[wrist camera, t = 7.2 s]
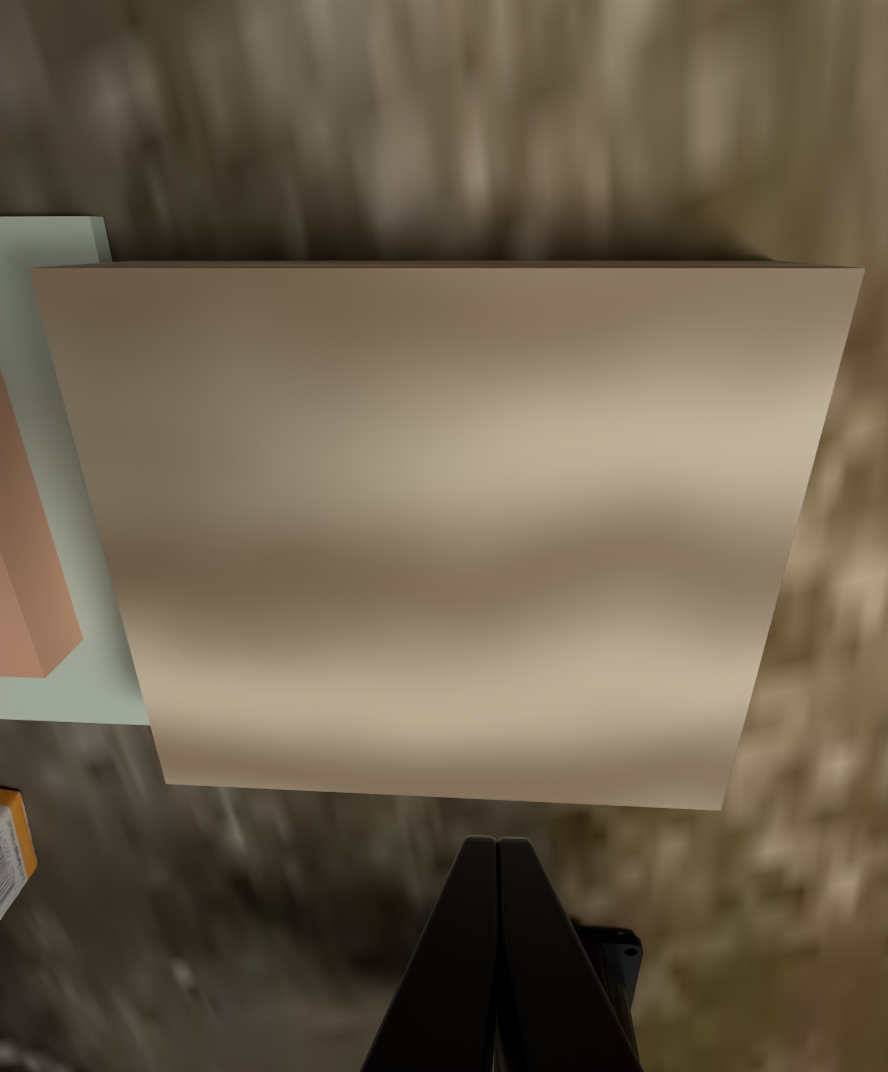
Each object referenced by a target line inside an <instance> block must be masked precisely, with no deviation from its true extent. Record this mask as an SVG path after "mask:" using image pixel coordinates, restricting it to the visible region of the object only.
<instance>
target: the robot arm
mask: <svg viewBox="0 0 888 1072" xmlns="http://www.w3.org/2000/svg"><path fill="white" fill-rule="evenodd" d="M642 956H643V949H642V944H641V940H640V939H639V938H638V937H636V936H633V935H623V934H606V933H590V932H575V930H574V927H573V925H572V923H571V921H570V919H569V917H568V915H567V913H566V911H565V909H564V907H563V905H562V903H561V901H560V899H559V897H558V895H557V893H556V891H555V889H554V887H553V885H552V882H551V880H550V878H549V876H548V874H547V872H546V870H545V868H544V866H543V864H542V862H541V860H540V858H539V856H538V854H537V852H536V850H535V848H534V846H533V844H532V842H531V841H530V840H529V839H528V838H525V837H505V836H503V837H501V838H499V840H498V844H497V840H496V838H494V837H493V836H482V835H468V836H467V837H466V838H465V839H464V840H463V842H462V844H461V847H460V849H459V851H458V853H457V855H456V858H455V860H454V862H453V864H452V867H451V869H450V871H449V873H448V876H447V878H446V880H445V882H444V885H443V887H442V889H441V891H440V894H439V896H438V898H437V900H436V903H435V905H434V907H433V909H432V911H431V914H430V916H429V918H428V920H427V923H426V925H425V927H424V929H423V932H422V934H421V936H420V938H419V941H418V943H417V945H416V947H415V950H414V952H413V954H412V956H411V958H410V961H409V963H408V965H407V967H406V970H405V972H404V974H403V976H402V979H401V981H400V983H399V985H398V988H397V990H396V992H395V994H394V997H393V999H392V1001H391V1003H390V1006H389V1008H388V1010H387V1012H386V1014H385V1017H384V1019H383V1021H382V1023H381V1026H380V1028H379V1030H378V1032H377V1035H376V1037H375V1039H374V1041H373V1044H372V1046H371V1048H370V1050H369V1053H368V1055H367V1057H366V1059H365V1061H364V1064H363V1066H362V1068H361V1070H360V1072H492V1066H493V1055H494V1072H644V1071H643V1069H642V1067H641V1065H640V1059H639V1054H638V1049H637V1043H636V1038H635V1033H634V1027H633V1022H632V1016H631V1011H630V1010H631V1005H632V1001H633V996H634V992H635V987H636V983H637V978H638V974H639V969H640V965H641V960H642Z"/></svg>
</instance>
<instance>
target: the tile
mask: <svg viewBox="0 0 888 1072" xmlns="http://www.w3.org/2000/svg"><path fill="white" fill-rule="evenodd" d="M83 640H84V639H83V636H82V633H81V629H80V626H79V623H78V620H77V616H76V613H75V610H74V607H73V603H72V600H71V597H70V594H69V590H68V587H67V584H66V581H65V577H64V574H63V571H62V567H61V564H60V561H59V558H58V554H57V551H56V548H55V545H54V541H53V538H52V535H51V532H50V528H49V525H48V522H47V519H46V515H45V512H44V509H43V506H42V502H41V499H40V496H39V493H38V489H37V486H36V483H35V479H34V476H33V473H32V470H31V466H30V463H29V460H28V457H27V453H26V450H25V447H24V444H23V440H22V437H21V434H20V431H19V427H18V424H17V421H16V418H15V414H14V411H13V408H12V405H11V401H10V398H9V395H8V391H7V388H6V385H5V382H4V378H3V375H2V372H1V369H0V677H24V678H46V677H47V676H48V675H49V674H50V673H51V672H52V671H53V670H54V669H55V668H56V667H57V666H58V665H59V664H60V663H61V662H62V661H63V660H64V659H65V658H66V657H67V656H68V655H69V654H70V653H71V652H72V651H73V650H74V649H75V648H76V647H77V646H78V645H79V644H80V643H81V642H82V641H83Z"/></svg>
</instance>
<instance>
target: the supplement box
mask: <svg viewBox="0 0 888 1072" xmlns="http://www.w3.org/2000/svg"><path fill="white" fill-rule="evenodd" d="M36 867H37V857H36V855H35V851H34V846H33V842H32V838H31V833H30V829H29V826H28V820H27V816H26V812H25V807H24V804H23V800H22V796H21V793H20V792H19V791H12V790H6V789H0V920H1V918H2V917H3V915H4V914H5V912H6V911H7V909H8V908H9V907H10V905H11V904H12V902H13V901H14V899H15V898H16V897H17V895H18V894H19V892H20V891H21V889H22V888H23V886H24V885H25V884H26V882H27V881H28V879H29V878H30V876H31V875H32V874H33V872H34V871H35V869H36Z"/></svg>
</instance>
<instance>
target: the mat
mask: <svg viewBox="0 0 888 1072" xmlns="http://www.w3.org/2000/svg"><path fill="white" fill-rule="evenodd" d="M106 262H113V261H112V257H111V252H110V247H109V243H108V238H107V233H106V228H105V224H104V219H103V217H95V216H25V217H0V369H1V372H2V375H3V378H4V382H5V385H6V388H7V391H8V395H9V398H10V401H11V405H12V408H13V411H14V414H15V418H16V421H17V424H18V427H19V431H20V434H21V437H22V440H23V444H24V447H25V450H26V453H27V457H28V460H29V463H30V466H31V470H32V473H33V476H34V479H35V483H36V486H37V489H38V493H39V496H40V499H41V502H42V506H43V509H44V512H45V515H46V519H47V522H48V525H49V528H50V532H51V535H52V538H53V541H54V545H55V548H56V551H57V554H58V558H59V561H60V564H61V567H62V571H63V574H64V577H65V581H66V584H67V587H68V590H69V594H70V597H71V600H72V603H73V607H74V610H75V613H76V616H77V620H78V623H79V626H80V629H81V633H82V636H83V639H84V640H83V641H82V642H81V643H80V644H79V645H78V646H77V647H76V648H75V649H74V650H73V651H72V652H71V653H70V654H69V655H68V656H67V657H66V658H65V659H64V660H63V661H62V662H61V663H60V664H59V665H58V666H57V667H56V668H55V669H54V670H53V671H52V672H51V673H50V674H49V675H48V676H47V677H46V678H24V677H0V719H15V720H39V721H62V722H85V723H109V724H132V725H150V722H149V718H148V715H147V711H146V707H145V703H144V700H143V696H142V692H141V689H140V685H139V681H138V677H137V674H136V670H135V666H134V662H133V659H132V655H131V651H130V647H129V644H128V640H127V636H126V633H125V629H124V625H123V621H122V618H121V614H120V610H119V606H118V603H117V599H116V595H115V591H114V588H113V584H112V580H111V577H110V573H109V569H108V565H107V562H106V558H105V554H104V550H103V547H102V543H101V539H100V535H99V532H98V528H97V524H96V520H95V517H94V513H93V509H92V506H91V502H90V498H89V494H88V491H87V487H86V483H85V479H84V476H83V472H82V468H81V464H80V461H79V457H78V453H77V450H76V446H75V442H74V438H73V435H72V431H71V427H70V423H69V420H68V416H67V412H66V408H65V405H64V401H63V397H62V394H61V390H60V386H59V382H58V379H57V375H56V371H55V367H54V364H53V360H52V356H51V352H50V349H49V345H48V341H47V338H46V334H45V330H44V326H43V323H42V319H41V315H40V311H39V308H38V304H37V300H36V296H35V293H34V289H33V285H32V281H31V278H30V274H29V270H28V268H36V267H50V266H64V265H78V264H92V263H106Z"/></svg>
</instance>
